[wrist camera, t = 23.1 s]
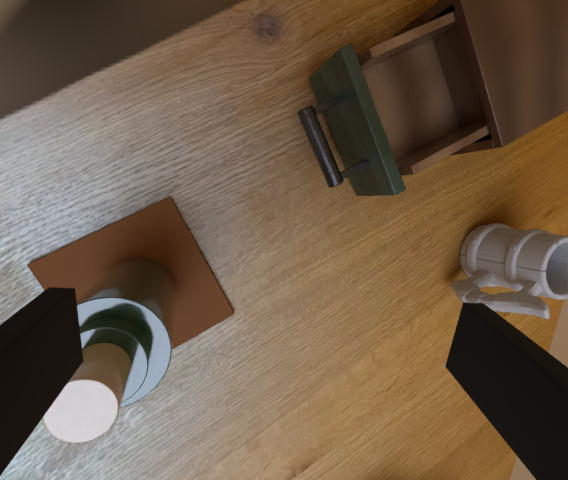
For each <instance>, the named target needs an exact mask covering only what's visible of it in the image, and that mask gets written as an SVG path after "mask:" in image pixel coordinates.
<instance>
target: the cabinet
mask: <svg viewBox="0 0 568 480" xmlns="http://www.w3.org/2000/svg"><path fill="white" fill-rule="evenodd" d="M453 11H455V13H456V17H457V20H458V24H459V27H460V30H461V34H462V37H463V41H464V44H465V48H466V51H467V55H468V58H469V61H470V65H471V68H472V72H473V75H474V79H475V82H476V85H477V89H478V92H479V96H480V99H481V103H482V106H483V109H484V113H485V116H486V120H487V123H488V127H489V130H490V133H489V134H487V135H486V136H484V137H482V138H480V139H478V140H476V141H475V142H473V143H471V144H469V145H467V146H465V147H464V148H462V149H460V150H458V151H456V152H454V153H452V154H451V155H455V154H462V153H468V152H474V151H480V150H487V149H493V148H499V147H504V146H505V145H507V144H509V143H511V142H513V141H514V140H516V139H518V138H520V137H521V136H523V135H525V134H527V133H529V132H530V131H532V130H534V129H536V128H538V127H539V126H541V125H543V124H545V123H547V122H548V121H550V120H552V119H554V118H556V117H557V116H559V115H561V114H563V113H564V112H566V111H568V0H439V1H438V2H437V3H435V4H434V5H433V6H431V7H430V8H429V9H428V10H426V11H425V12H424V13H422V14H421V15H420V16H419V17H417V18H416V19H415V20H413V21H412V22H411V23H410V24H408V25H407V26H406V27H404V28H403V29H402V30H401V31H399V32H398V33H397V34H395V35H394V37H396V36H398V35H400V34H402V33H405V32H407V31H409V30H412V29H414V28H416V27H419V26H421V25H423V24H425V23H428V22H430V21H432V20H435V19H437V18H439V17H442V16H444V15H446V14H448V13H451V12H453Z"/></svg>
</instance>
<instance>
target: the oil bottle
mask: <svg viewBox="0 0 568 480" xmlns="http://www.w3.org/2000/svg"><path fill="white" fill-rule="evenodd" d="M176 297H177V286H176V282H175V279H174V277H173V275H172V273H171V272H170V271H169V270H168V268H166V267H165V266H164V265H163V264H161V263H160V262H158V261H156V260H153V259H150V258H145V257H133V258H128V259H125V260H122V261H120V262H118V263H117V264H115V265H114V266H113V267H111V268H110V269H109V270H108V271H107V272H106V273H105V274H104V275H103V276H102V277H101V278H100V279H99V280H98V281H97V282H95V283H94V284H93V285H92V286H91V287H90V288H89V289H88V290H87V291H86V292H85V293H84V294H83V295H82V296H81V297H80V298H79V299H78V300H76V301H77V309H78V318H79V326H80V335H81V343H82V352H83V360H84V361H83V363H82V364H81V365H80V367H79V368H78V369H77V371H76V372H75V374H74V375H73V376H72V378H71V379H70V380H69V382H68V383H67V385H66V386H65V387H64V389H63V390H62V391H61V393H60V394H59V396H58V397H57V398H56V400H55V401H54V402H53V404H52V405H51V407H50V408H49V409H48V411H47V412H46V413H45V415H44V416H43V418H42V419H43V423H44V426H45V428H46V429H47V431H48V432H49V433H50V434H51V435H52V436H54V437H55V438H57V439H59V440H61V441H64V442H68V443H84V442H88V441H91V440H94V439H96V438H98V437H100V436H102V435H103V434H104V433H106V432H107V431H108V430H109V429H110V428H111V427H112V425H113V424H114V423H115V421H116V419H117V416H118V413H119V410H120V408H122V407H125V406H128V405H131V404H133V403H135V402H137V401H139V400H140V399H142V398H144V397H145V396H146V395H148V394H149V393H150V392H151V391H152V390H153V389H154V388H155V387H156V386H157V385H158V384H159V383H160V381H161V380H162V378H163V377H164V375H165V373H166V371H167V369H168V367H169V363H170V359H171V353H172V341H173V330H174V319H175V308H176Z"/></svg>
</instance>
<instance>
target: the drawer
mask: <svg viewBox="0 0 568 480" xmlns="http://www.w3.org/2000/svg"><path fill="white" fill-rule="evenodd" d="M309 79H310V82H311V84H312V87H313V89H314V92H315V94H316V96H317V99H318V101H319V104H320V105H317V106H315V107H314V108H313V106H312V105H311V106H308V107H306V108H304V109H302V110H300V111H299V112H298V113H297V114H298V116H299V118H300V121H301V123H302V125H303V128H304V130H305V132H306V135H307V137H308V139H309V142H310V144H311V146H312V149H313V151H314V154H315V156H316V158H317V161H318V163H319V165H320V168H321V170H322V172H323V175H324V177H325V179H326V182H327V184H328V186H329V188H332V187H335V186H337V185H339V184H341V183H342V182H343V179H344V178H346V177H348V176H349V178H350V180H351V182H352V185H353V187H354V190H355V192H356V195H357V196H376V195H397V194H399V193H401V192H403V191H404V190H406V188H405V185H404V183H403V180H402V177H401V175H411V174H416V173H417V172H419V171H421V170H423V169H425V168H427V167H428V166H430V165H432V164H434V163H436V162H438V161H440V160H441V159H443V158H445V157H447V156H449V155H451V154H452V153H454V152H456V151H458V150H460V149H462V148H464V147H465V146H467V145H469V144H471V143H473V142H475V141H476V140H478V139H480V138H482V137H484V136H486V135H487V134H489V133H490V130H489V127H488V123H487V120H486V116H485V113H484V109H483V106H482V103H481V99H480V96H479V92H478V89H477V85H476V82H475V79H474V75H473V72H472V68H471V65H470V61H469V58H468V55H467V51H466V48H465V44H464V41H463V37H462V34H461V30H460V27H459V24H458V20H457V17H456V13H455V11H453V12H451V13H448V14H446V15H444V16H442V17H439V18H437V19H435V20H432V21H430V22H428V23H425V24H423V25H421V26H419V27H416V28H414V29H412V30H409V31H407V32H405V33H402V34H400V35H398V36H396V37H393V38H391V39H389V40H386V41H384V42H382V43H380V44H377V45H375V46H373V47H370V48H369V49H367V50H366V51H365V52H364V53H363V54H361V55H360V56H359V57H358V58H357V55H356V52H355V49H354V47H353V44H352V43H351V44H348V45H346V46H344V47H341V48H340V49H339V50H338V51H337V52H335V53H334V54H333V55H332V56H331V57H330V58H329V59H328V60H327V61H326V62H325V63H324V64H323V65H322V66H321V67H320V68H319V69H318V70H317V71H316V72H315V73H314V74H313V75H312V76H311V77H310V78H309ZM321 112H323V114H324V116H325V119H326V121H327V124H328V126H329V128H330V131H331V133H332V136H333V138H334V141H335V143H336V146H337V148H338V151H339V153H340V155H341V158H342V160H343V163H344V165H345V168H346V170H344V171H342V172H340V171H339V169H338V166H337V164H336V161H335V159H334V157H333V154H332V152H331V149H330V147H329V144H328V142H327V140H326V137H325V135H324V132H323V130H322V127H321V125H320V123H319V120H318V118H317V115H316V114H318V113H321Z"/></svg>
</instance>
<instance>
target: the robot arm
mask: <svg viewBox="0 0 568 480" xmlns="http://www.w3.org/2000/svg"><path fill="white" fill-rule="evenodd" d="M83 361H84V360H83V352H82V343H81V335H80V326H79V318H78V309H77V301H76V292H75V288H57V287H49V288H47V289H46V290H45V291H44V292H42V293H41V294H40V295H39V296H37V297H36V298H35V299H33V300H32V301H31V302H30V303H28V304H27V305H26V306H24V307H23V308H22V309H21V310H19V311H18V312H17V313H15V314H14V315H13V316H12V317H10V318H9V319H8V320H6V321H5V322H4V323H3V324H1V325H0V475H1V474H2V473H3V471H4V470H5V468H6V467H7V466H8V464H9V463H10V462H11V460H12V459H13V457H14V456H15V455H16V453H17V452H18V451H19V449H20V448H21V446H22V445H23V444H24V442H25V441H26V440H27V438H28V437H29V435H30V434H31V433H32V431H33V430H34V429H35V427H36V426H37V424H38V423H39V422H40V420H41V419H42V418H43V416H44V415H45V413H46V412H47V411H48V409H49V408H50V407H51V405H52V404H53V402H54V401H55V400H56V398H57V397H58V396H59V394H60V393H61V391H62V390H63V389H64V387H65V386H66V385H67V383H68V382H69V380H70V379H71V378H72V376H73V375H74V374H75V372H76V371H77V369H78V368H79V367H80V365H81V364H82V363H83ZM446 368H447V369H448V370H449V371H450V373H451V374H452V375H453V376H454V378H455V379H456V380H457V381H458V383H459V384H460V385H461V386H462V388H463V389H464V390H465V391H466V393H467V394H468V395H469V396H470V398H471V399H472V400H473V401H474V403H475V404H476V405H477V406H478V408H479V409H480V410H481V411H482V413H483V414H484V415H485V416H486V418H487V419H488V420H489V421H490V423H491V424H492V425H493V426H494V428H495V429H496V430H497V431H498V432H499V434H500V435H501V436H502V437H503V439H504V440H505V441H506V442H507V444H508V445H509V446H510V447H511V449H512V450H513V451H514V452H515V454H516V455H517V456H518V457H519V459H520V460H521V461H522V462H523V464H524V465H525V466H526V467H527V469H528V470H529V471H530V472H531V474H532V475H533V476H534V477H535V478H536V480H568V368H567V367H566V366H565V365H563V364H562V363H561V362H560V361H558V360H557V359H555V358H554V357H553V356H552V355H550V354H549V353H548V352H547V351H545V350H544V349H543V348H541V347H540V346H539V345H537V344H536V343H535V342H533V341H532V340H531V339H530V338H528V337H527V336H526V335H524V334H523V333H522V332H520V331H519V330H518V329H516V328H515V327H514V326H513V325H511V324H510V323H509V322H507V321H506V320H505V319H503V318H502V317H501V316H499V315H498V314H497V313H496V312H494V311H493V310H492V309H490V308H489V307H488V306H486V305H485V304H484V303H466V302H463V306H462V309H461V313H460V316H459V320H458V324H457V327H456V331H455V334H454V338H453V341H452V345H451V348H450V352H449V356H448V359H447V363H446Z"/></svg>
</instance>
